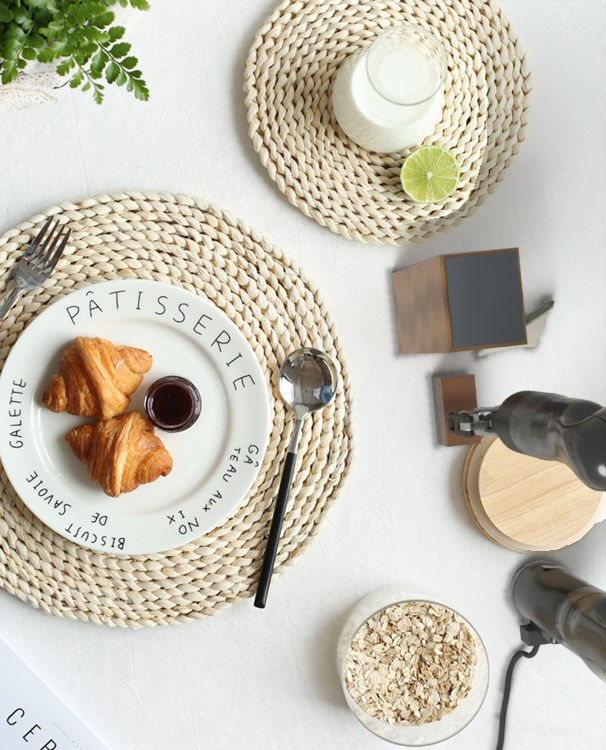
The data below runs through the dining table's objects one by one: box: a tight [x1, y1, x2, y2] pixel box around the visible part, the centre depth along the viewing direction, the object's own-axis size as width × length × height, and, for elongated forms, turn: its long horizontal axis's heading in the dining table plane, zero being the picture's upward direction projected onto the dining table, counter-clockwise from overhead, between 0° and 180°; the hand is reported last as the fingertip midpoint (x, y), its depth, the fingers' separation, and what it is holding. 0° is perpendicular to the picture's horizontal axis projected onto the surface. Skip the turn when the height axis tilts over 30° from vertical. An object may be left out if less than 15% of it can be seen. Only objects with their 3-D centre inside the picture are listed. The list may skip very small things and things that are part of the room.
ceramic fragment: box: [476, 299, 555, 358], centre depth 122 cm, size 14×5×4 cm, turn 120°
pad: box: [444, 251, 525, 348], centre depth 101 cm, size 11×9×1 cm
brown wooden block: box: [430, 373, 482, 448], centre depth 121 cm, size 10×5×4 cm, turn 6°
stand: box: [390, 246, 528, 355], centre depth 112 cm, size 12×10×22 cm
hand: (487, 414), depth 109 cm, fingers open, 8 cm apart
